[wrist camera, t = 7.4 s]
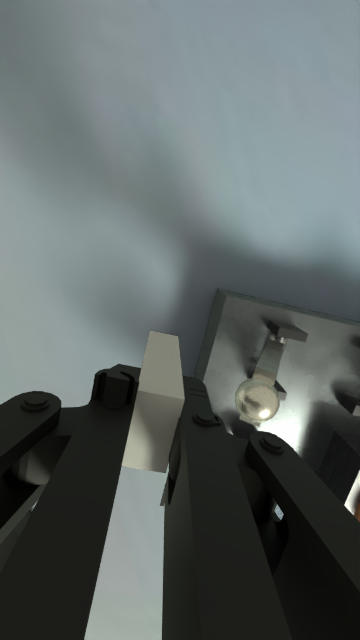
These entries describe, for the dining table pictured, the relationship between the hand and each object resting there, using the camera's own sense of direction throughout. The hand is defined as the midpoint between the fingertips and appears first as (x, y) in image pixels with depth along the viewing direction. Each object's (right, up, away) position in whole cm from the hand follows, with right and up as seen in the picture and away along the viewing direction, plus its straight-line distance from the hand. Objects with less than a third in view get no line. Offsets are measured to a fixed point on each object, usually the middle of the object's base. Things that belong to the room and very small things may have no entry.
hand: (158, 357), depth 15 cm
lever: (+7, -1, +5) cm, 9 cm away
